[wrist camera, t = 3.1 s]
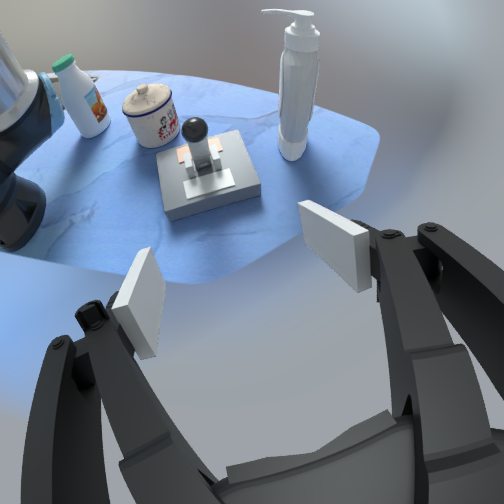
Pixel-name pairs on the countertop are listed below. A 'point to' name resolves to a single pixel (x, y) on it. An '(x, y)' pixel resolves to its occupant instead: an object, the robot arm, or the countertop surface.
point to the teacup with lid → (152, 115)
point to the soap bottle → (297, 82)
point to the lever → (197, 141)
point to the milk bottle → (81, 98)
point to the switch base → (206, 177)
